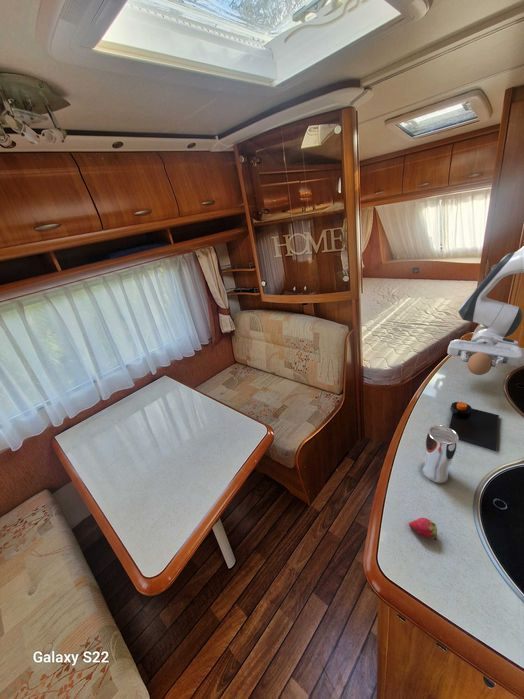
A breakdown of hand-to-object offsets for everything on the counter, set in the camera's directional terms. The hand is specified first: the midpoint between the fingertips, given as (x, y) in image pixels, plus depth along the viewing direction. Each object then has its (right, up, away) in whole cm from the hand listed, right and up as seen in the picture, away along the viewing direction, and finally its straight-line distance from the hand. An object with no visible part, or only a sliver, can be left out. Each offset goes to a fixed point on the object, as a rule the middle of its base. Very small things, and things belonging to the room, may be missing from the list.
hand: (479, 362), depth 90 cm
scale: (-4, -21, -2) cm, 21 cm away
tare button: (-5, -16, +2) cm, 16 cm away
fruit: (-35, -39, -27) cm, 59 cm away
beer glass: (-24, -31, -14) cm, 42 cm away
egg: (+1, -4, +3) cm, 5 cm away
